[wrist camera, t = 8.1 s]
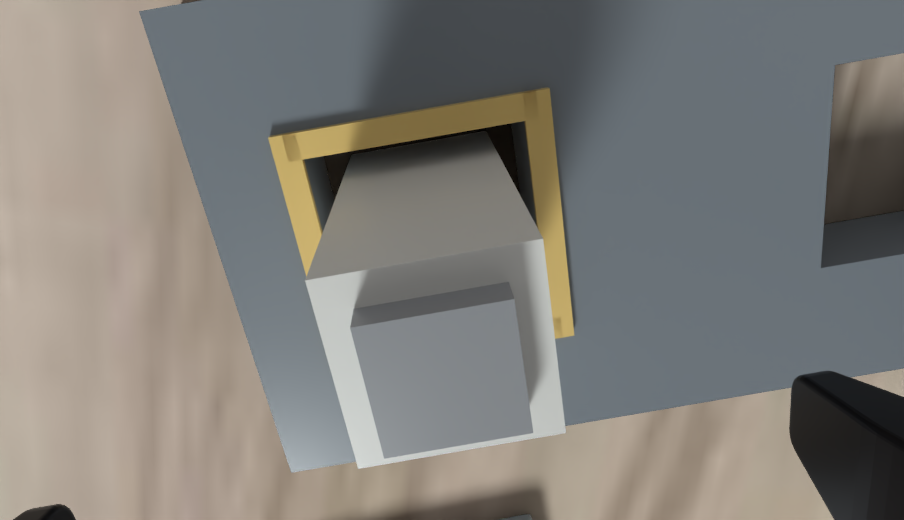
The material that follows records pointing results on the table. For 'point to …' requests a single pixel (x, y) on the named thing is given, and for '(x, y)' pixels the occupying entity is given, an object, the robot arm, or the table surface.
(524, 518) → the external hard drive
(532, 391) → the plug
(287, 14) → the panel
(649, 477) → the table surface
